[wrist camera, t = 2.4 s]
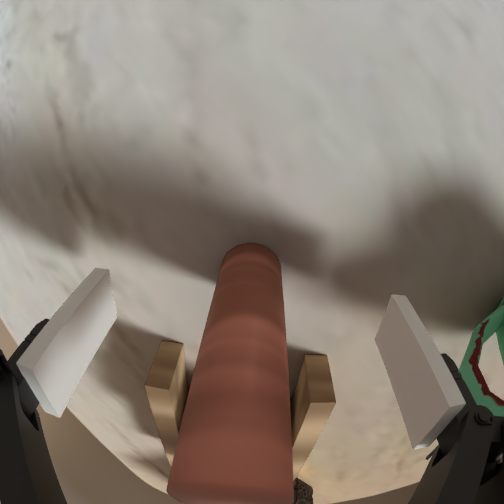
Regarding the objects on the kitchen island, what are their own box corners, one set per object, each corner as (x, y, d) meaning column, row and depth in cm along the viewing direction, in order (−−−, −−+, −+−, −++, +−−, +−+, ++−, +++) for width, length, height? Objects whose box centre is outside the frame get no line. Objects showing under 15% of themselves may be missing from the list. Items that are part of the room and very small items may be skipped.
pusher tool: (195, 238, 16) (98, 455, 5) (311, 248, 16) (367, 480, 5) (203, 423, 23) (183, 545, 13) (271, 429, 23) (269, 553, 13)
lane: (161, 340, 19) (144, 385, 15) (326, 355, 19) (336, 402, 15) (181, 445, 26) (174, 477, 22) (289, 454, 26) (289, 487, 22)
